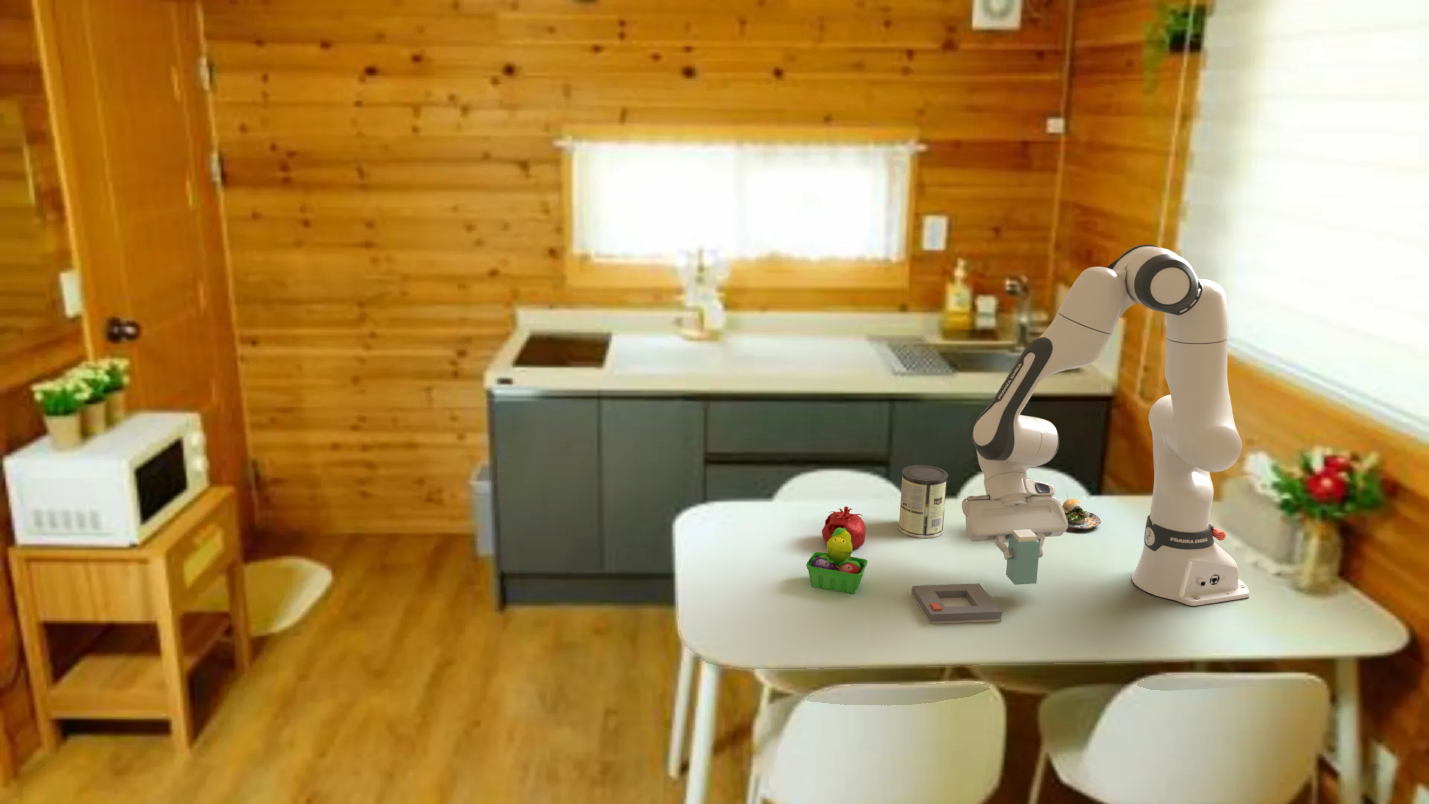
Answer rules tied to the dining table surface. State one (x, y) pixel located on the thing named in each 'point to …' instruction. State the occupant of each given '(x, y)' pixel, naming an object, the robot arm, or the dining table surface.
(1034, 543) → the plug
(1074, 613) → the dining table surface
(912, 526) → the coffee can
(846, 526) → the pomegranate
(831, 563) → the fruit basket
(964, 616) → the socket plate
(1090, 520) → the burger
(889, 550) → the dining table surface
